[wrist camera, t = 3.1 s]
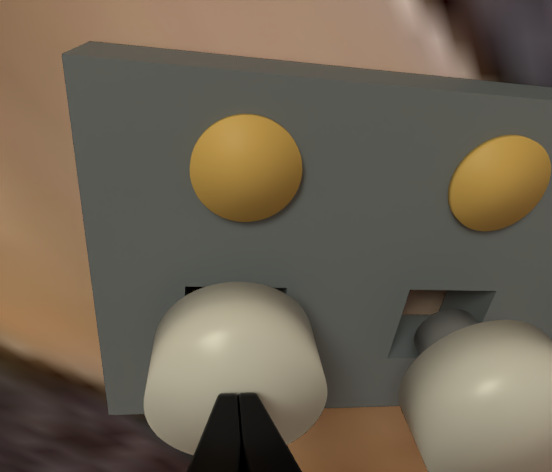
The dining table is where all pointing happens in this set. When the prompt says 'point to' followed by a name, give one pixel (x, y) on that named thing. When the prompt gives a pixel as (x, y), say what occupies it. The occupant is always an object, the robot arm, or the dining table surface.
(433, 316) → the button middle
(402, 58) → the dining table surface
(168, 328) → the button inner
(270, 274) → the board
